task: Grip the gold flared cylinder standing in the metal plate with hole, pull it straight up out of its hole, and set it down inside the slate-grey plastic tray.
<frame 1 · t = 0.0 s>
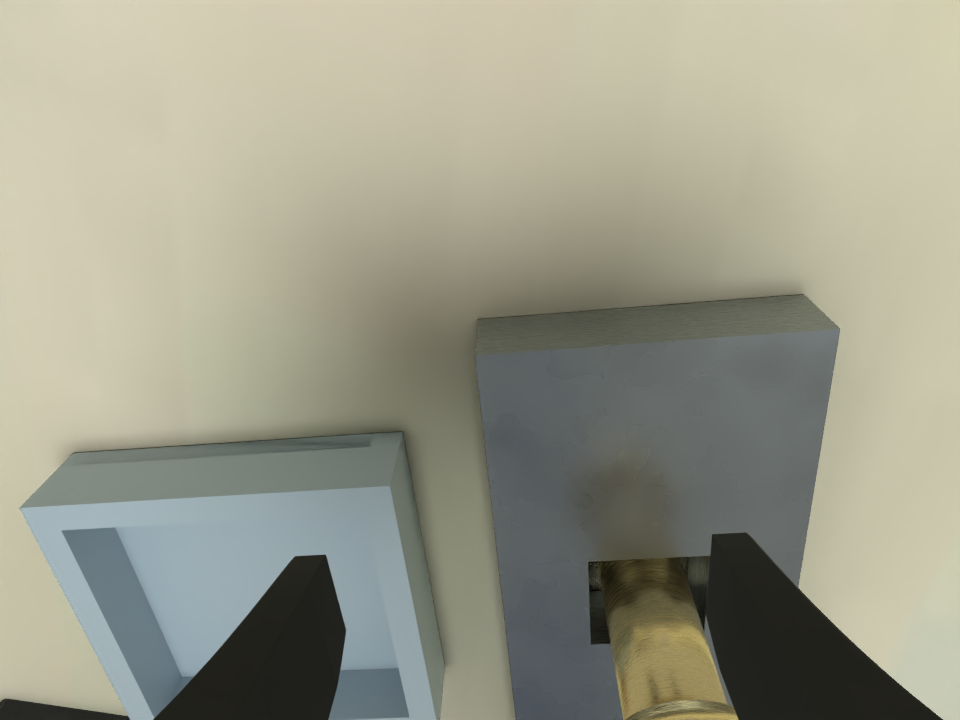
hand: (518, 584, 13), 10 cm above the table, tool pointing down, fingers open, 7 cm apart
metal plate with hole: (635, 550, 25), on the table
tray: (275, 568, 26), on the table
gold flared cylinder: (658, 645, 22), in the metal plate with hole
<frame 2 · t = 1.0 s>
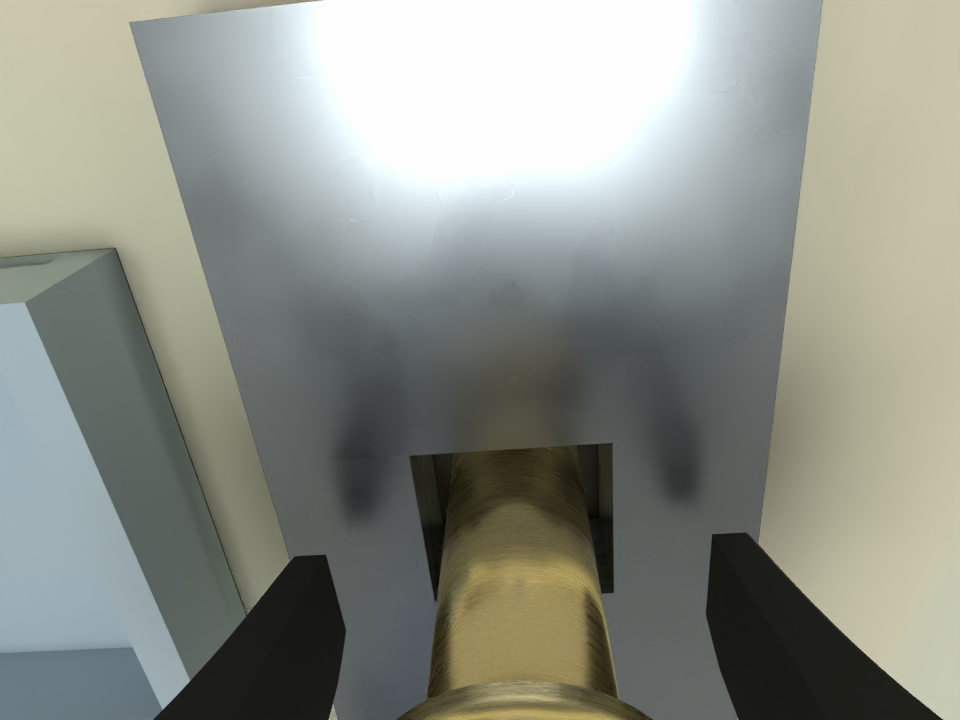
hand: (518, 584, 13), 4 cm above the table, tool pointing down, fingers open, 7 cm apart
metal plate with hole: (515, 458, 16), on the table
gold flared cylinder: (518, 593, 12), in the metal plate with hole
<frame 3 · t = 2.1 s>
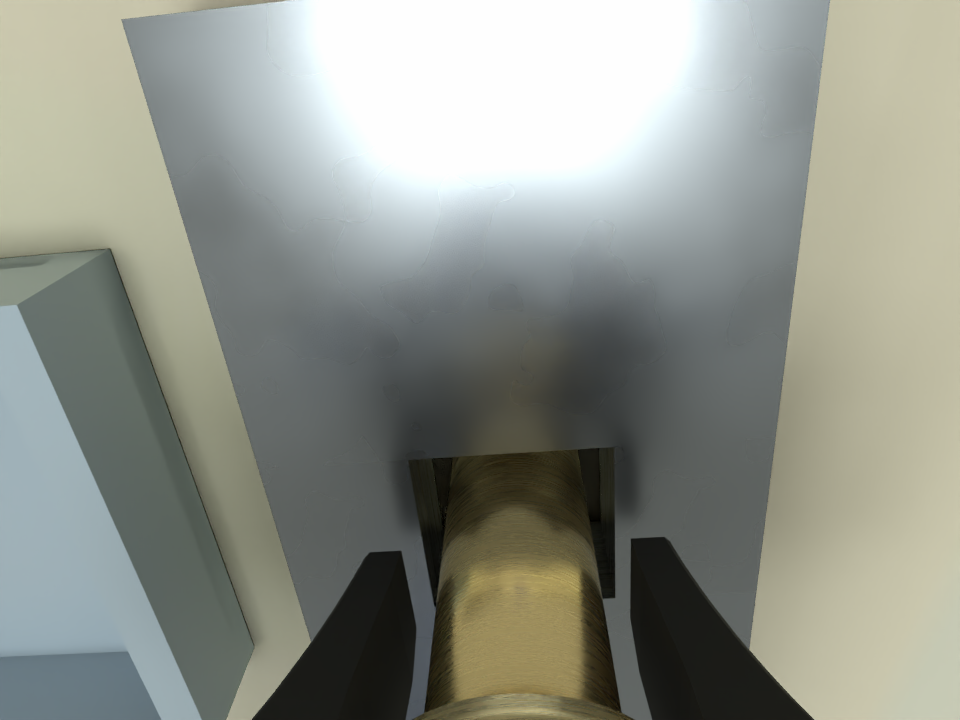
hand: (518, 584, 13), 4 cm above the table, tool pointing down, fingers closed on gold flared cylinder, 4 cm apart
metal plate with hole: (515, 461, 16), on the table
gold flared cylinder: (519, 600, 12), in the metal plate with hole, touching gripper
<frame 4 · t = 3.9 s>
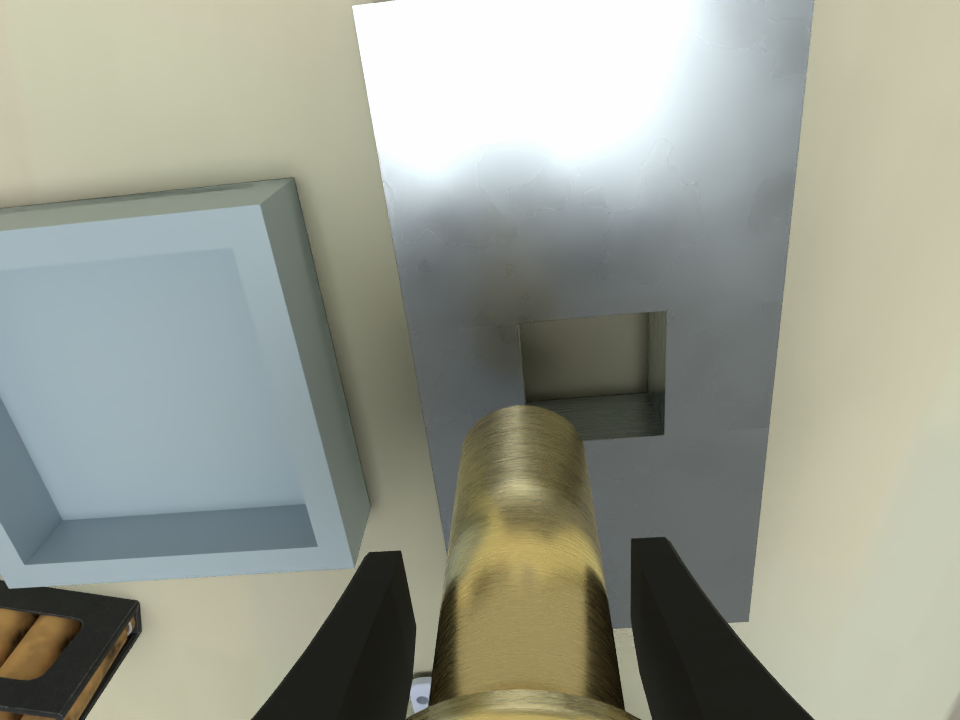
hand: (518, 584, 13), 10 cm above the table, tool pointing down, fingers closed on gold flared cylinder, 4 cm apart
metal plate with hole: (584, 342, 21), on the table
tray: (160, 378, 22), on the table
gold flared cylinder: (524, 597, 12), point 10 cm above the table, touching gripper
ammunition clip: (11, 593, 28), on the table
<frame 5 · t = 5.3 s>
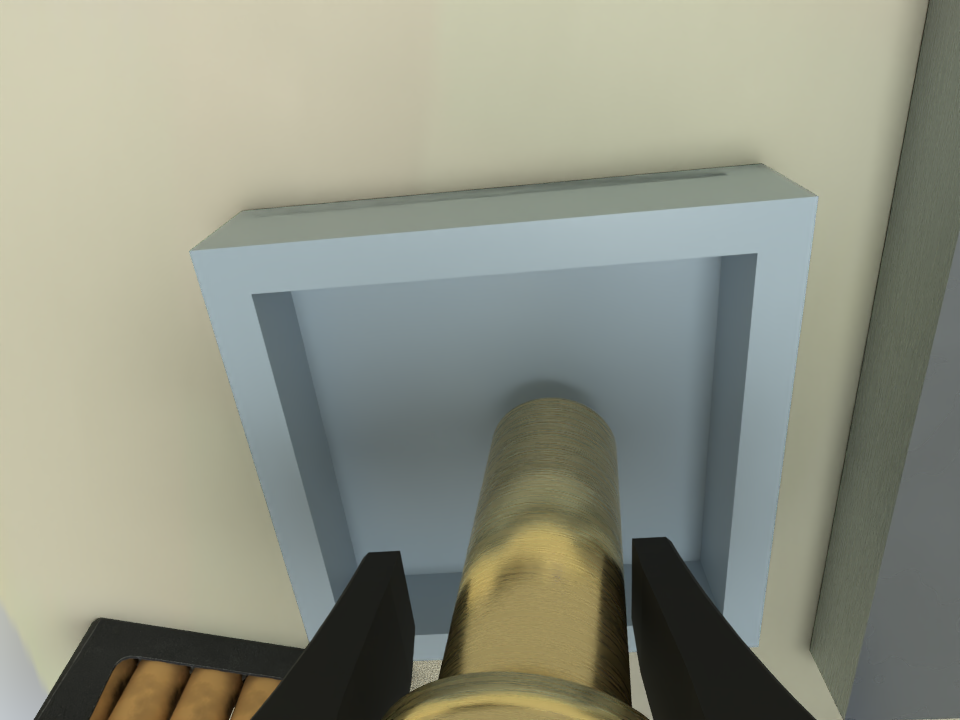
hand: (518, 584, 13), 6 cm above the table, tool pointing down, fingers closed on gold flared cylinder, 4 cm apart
tray: (514, 410, 18), on the table
gold flared cylinder: (542, 586, 12), point 6 cm above the table, tilted 7°, touching gripper
ammunition clip: (256, 654, 23), on the table
when the fingers open (6 cm above the table, at t = 6.1 s): gold flared cylinder drops 1 cm, resting on tray.
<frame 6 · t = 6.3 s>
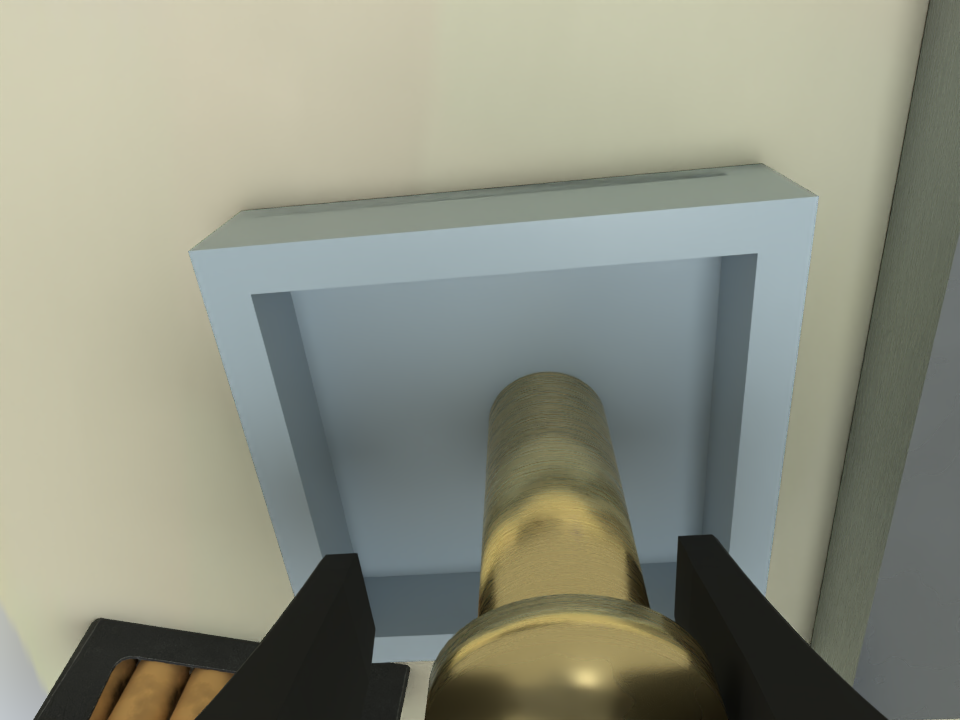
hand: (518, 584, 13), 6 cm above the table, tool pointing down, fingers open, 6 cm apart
tray: (513, 410, 18), on the table
gold flared cylinder: (556, 539, 14), in the tray, point 5 cm above the table, touching gripper
ammunition clip: (255, 654, 23), on the table
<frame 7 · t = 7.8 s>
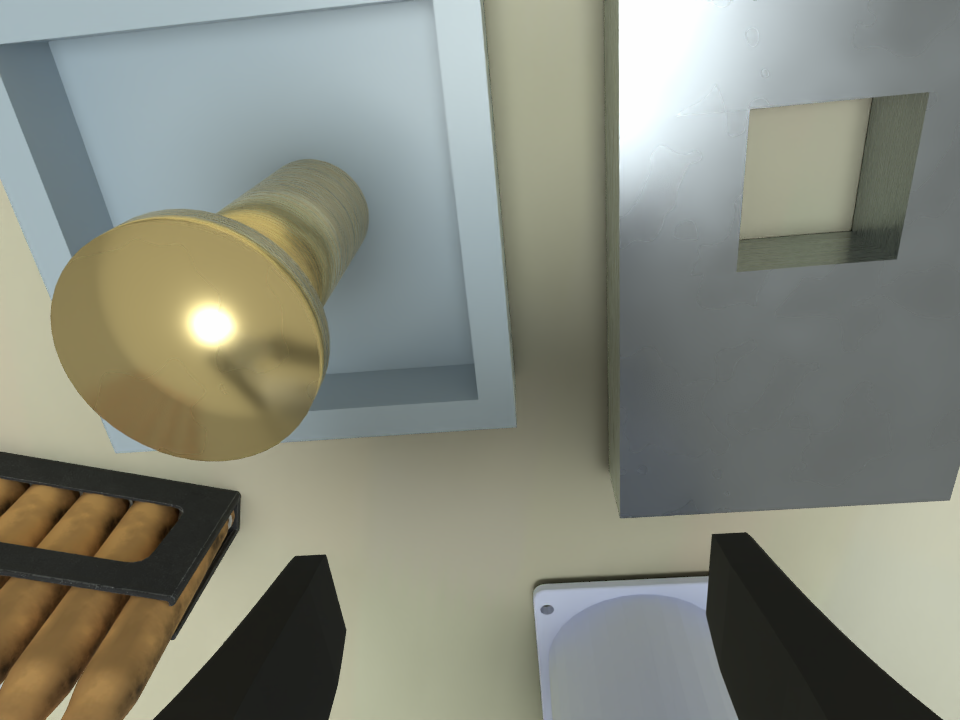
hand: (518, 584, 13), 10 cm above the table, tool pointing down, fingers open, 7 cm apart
metal plate with hole: (788, 166, 19), on the table
tray: (294, 211, 20), on the table
gold flared cylinder: (267, 265, 15), in the tray, point 5 cm above the table
ammunition clip: (97, 483, 25), on the table
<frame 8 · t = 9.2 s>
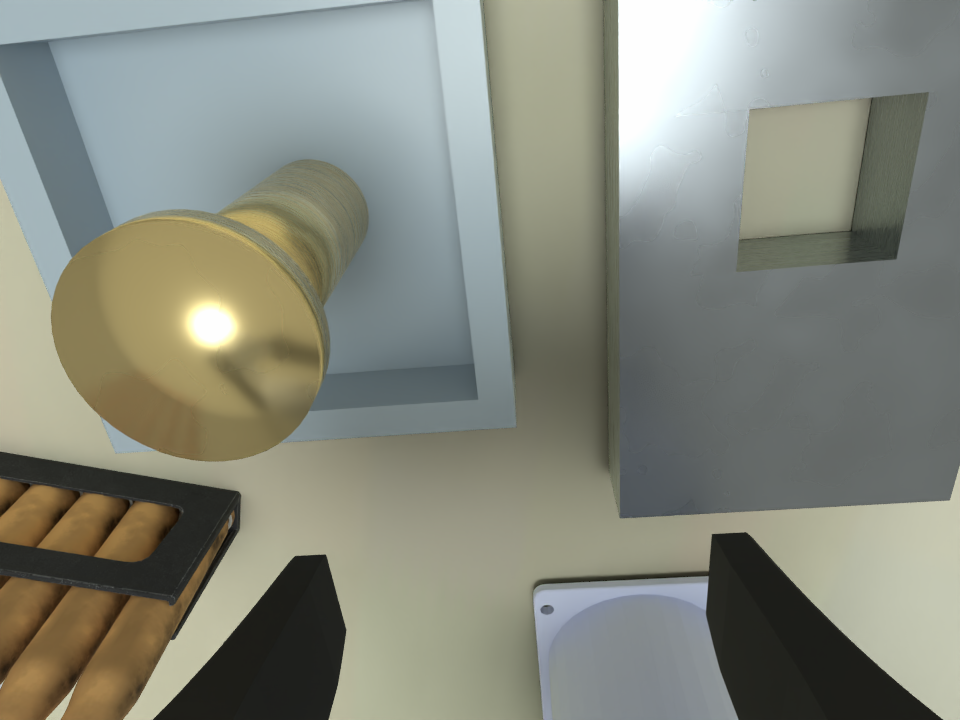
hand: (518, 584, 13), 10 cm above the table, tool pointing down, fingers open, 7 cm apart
metal plate with hole: (787, 166, 19), on the table
tray: (294, 211, 20), on the table
gold flared cylinder: (267, 265, 15), in the tray, point 5 cm above the table
ammunition clip: (97, 483, 25), on the table
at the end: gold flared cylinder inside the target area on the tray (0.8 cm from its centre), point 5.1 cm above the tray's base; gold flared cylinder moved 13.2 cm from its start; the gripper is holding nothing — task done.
